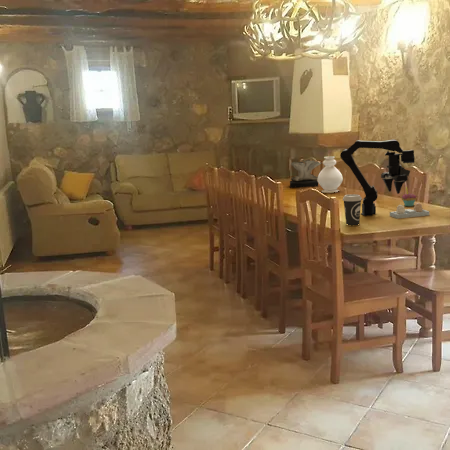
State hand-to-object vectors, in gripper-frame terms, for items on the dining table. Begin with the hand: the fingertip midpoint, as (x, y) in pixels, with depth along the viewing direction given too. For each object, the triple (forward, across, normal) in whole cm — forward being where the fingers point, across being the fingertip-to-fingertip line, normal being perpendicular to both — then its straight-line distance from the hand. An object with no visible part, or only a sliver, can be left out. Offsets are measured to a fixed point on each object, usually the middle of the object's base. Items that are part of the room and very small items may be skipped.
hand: (394, 192), depth 288 cm
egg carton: (+12, -9, -4) cm, 16 cm away
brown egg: (+11, -9, -9) cm, 17 cm away
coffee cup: (+12, -14, +30) cm, 35 cm away
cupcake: (+12, +20, -20) cm, 31 cm away
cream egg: (+11, -9, +1) cm, 14 cm away
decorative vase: (+12, +98, -2) cm, 99 cm away
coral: (+12, +134, +4) cm, 135 cm away
